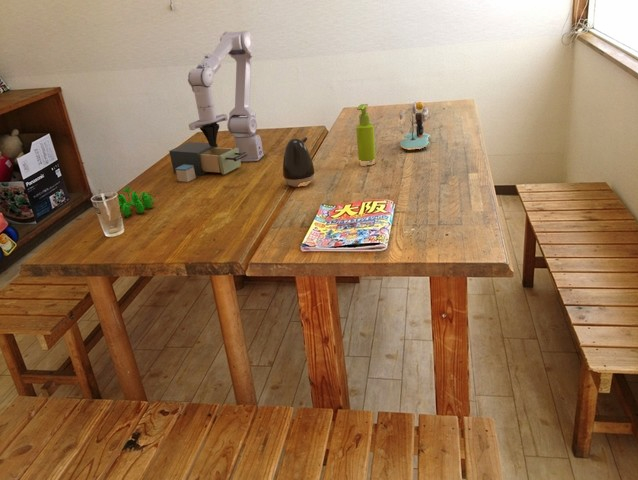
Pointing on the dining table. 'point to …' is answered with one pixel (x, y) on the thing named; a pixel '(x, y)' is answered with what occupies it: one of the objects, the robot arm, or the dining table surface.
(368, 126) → the soap dispenser
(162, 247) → the dining table surface
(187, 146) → the cabinet
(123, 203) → the green lumpy piece
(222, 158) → the drawer
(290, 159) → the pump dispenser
